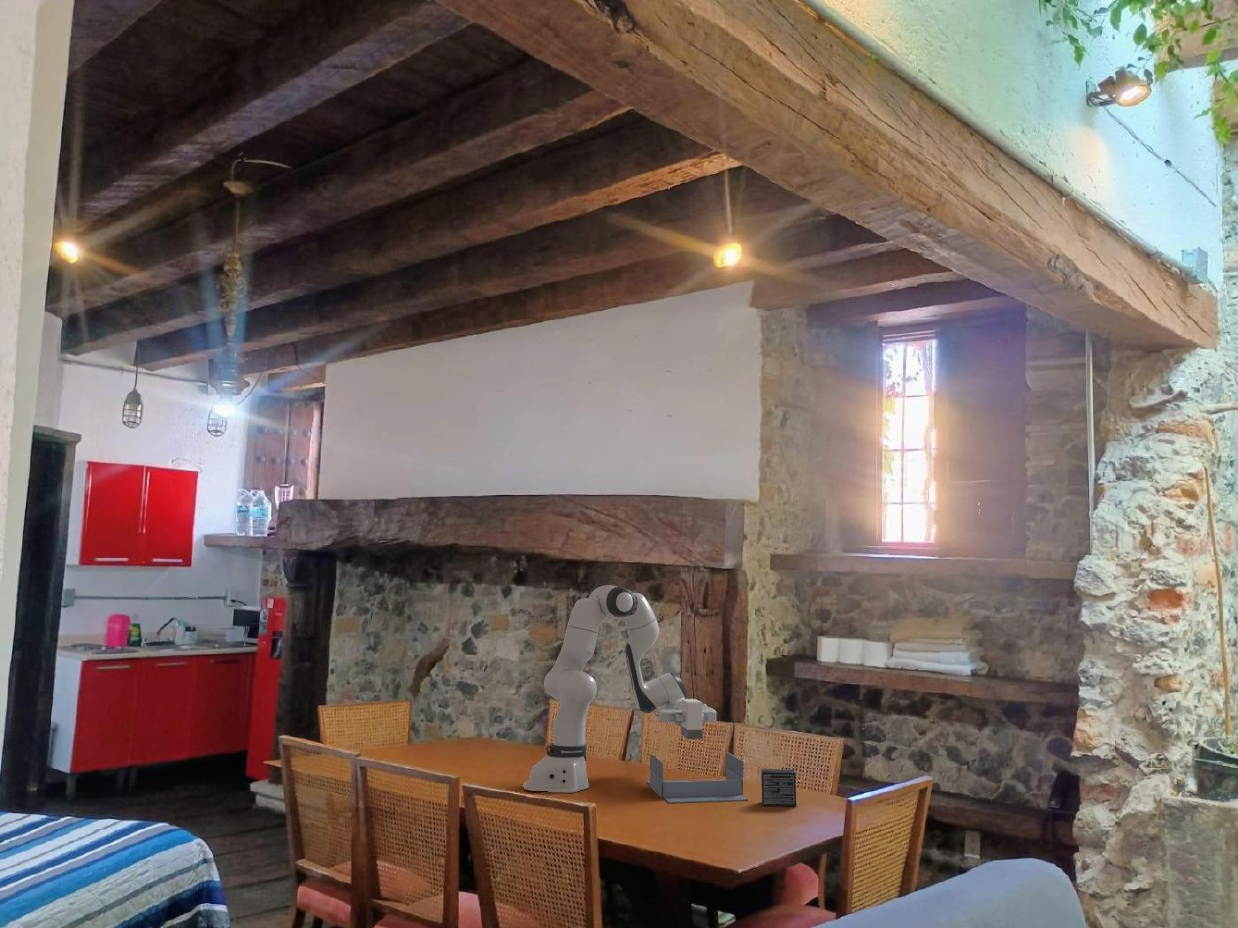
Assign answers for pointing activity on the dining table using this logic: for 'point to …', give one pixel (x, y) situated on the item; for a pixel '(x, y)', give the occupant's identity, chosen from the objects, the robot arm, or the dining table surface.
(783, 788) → the small box
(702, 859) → the dining table surface
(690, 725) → the box
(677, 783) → the blue-grey open walled piece
